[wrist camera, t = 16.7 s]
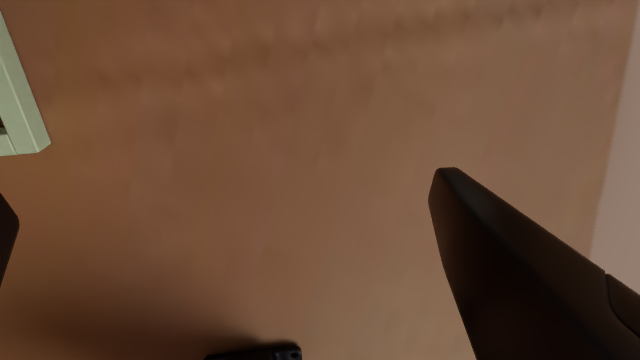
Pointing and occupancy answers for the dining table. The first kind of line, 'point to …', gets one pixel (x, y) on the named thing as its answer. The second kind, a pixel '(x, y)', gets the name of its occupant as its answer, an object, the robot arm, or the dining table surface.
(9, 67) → the dish rack
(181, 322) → the dining table surface
